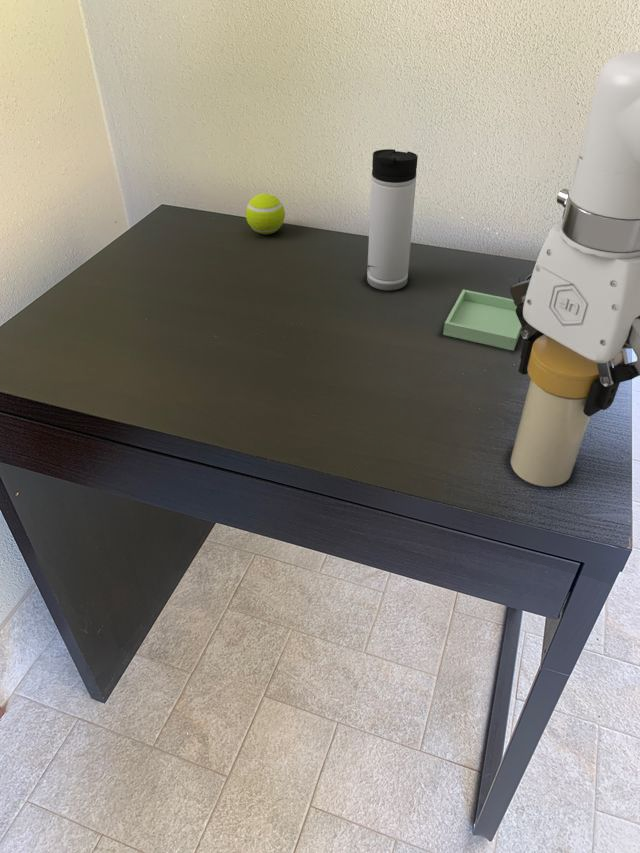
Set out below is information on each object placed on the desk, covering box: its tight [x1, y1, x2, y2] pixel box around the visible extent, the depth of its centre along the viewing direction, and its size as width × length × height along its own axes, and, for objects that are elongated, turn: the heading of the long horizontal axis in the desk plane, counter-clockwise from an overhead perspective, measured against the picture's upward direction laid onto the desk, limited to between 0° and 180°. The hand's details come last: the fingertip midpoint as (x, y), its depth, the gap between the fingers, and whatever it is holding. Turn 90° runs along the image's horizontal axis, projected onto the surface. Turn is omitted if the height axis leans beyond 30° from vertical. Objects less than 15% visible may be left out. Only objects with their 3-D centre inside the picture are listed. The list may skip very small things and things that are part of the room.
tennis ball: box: [245, 193, 286, 235], centre depth 117 cm, size 7×7×7 cm
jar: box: [510, 378, 592, 488], centre depth 71 cm, size 7×7×14 cm
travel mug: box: [366, 148, 419, 292], centre depth 99 cm, size 6×7×20 cm
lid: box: [527, 334, 613, 398], centre depth 66 cm, size 8×8×3 cm
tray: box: [442, 289, 522, 352], centre depth 96 cm, size 10×10×2 cm
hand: (562, 387), depth 68 cm, fingers closed on lid, 7 cm apart
